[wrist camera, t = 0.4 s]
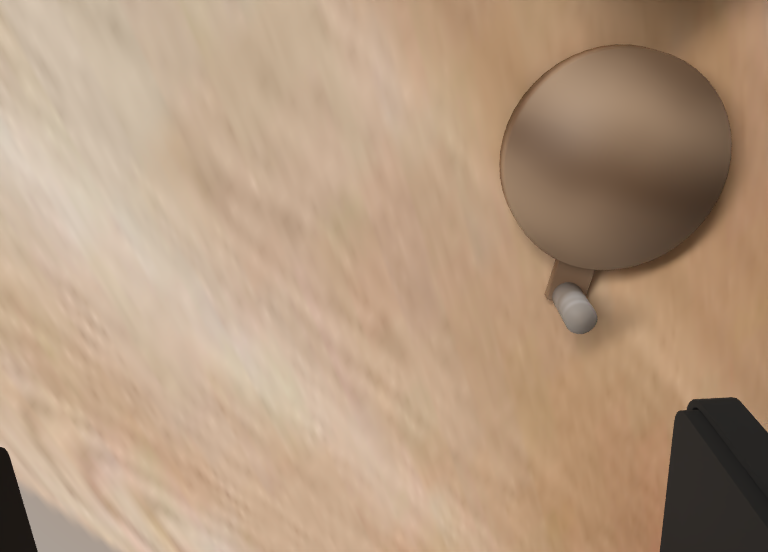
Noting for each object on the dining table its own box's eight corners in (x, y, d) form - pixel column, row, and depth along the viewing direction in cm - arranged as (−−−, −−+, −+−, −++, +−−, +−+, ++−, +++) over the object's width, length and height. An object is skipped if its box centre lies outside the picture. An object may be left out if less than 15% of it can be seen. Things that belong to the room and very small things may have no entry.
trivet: (534, 22, 34) (550, 27, 31) (752, 70, 35) (790, 81, 32) (462, 285, 40) (470, 314, 36) (655, 322, 41) (679, 352, 37)
